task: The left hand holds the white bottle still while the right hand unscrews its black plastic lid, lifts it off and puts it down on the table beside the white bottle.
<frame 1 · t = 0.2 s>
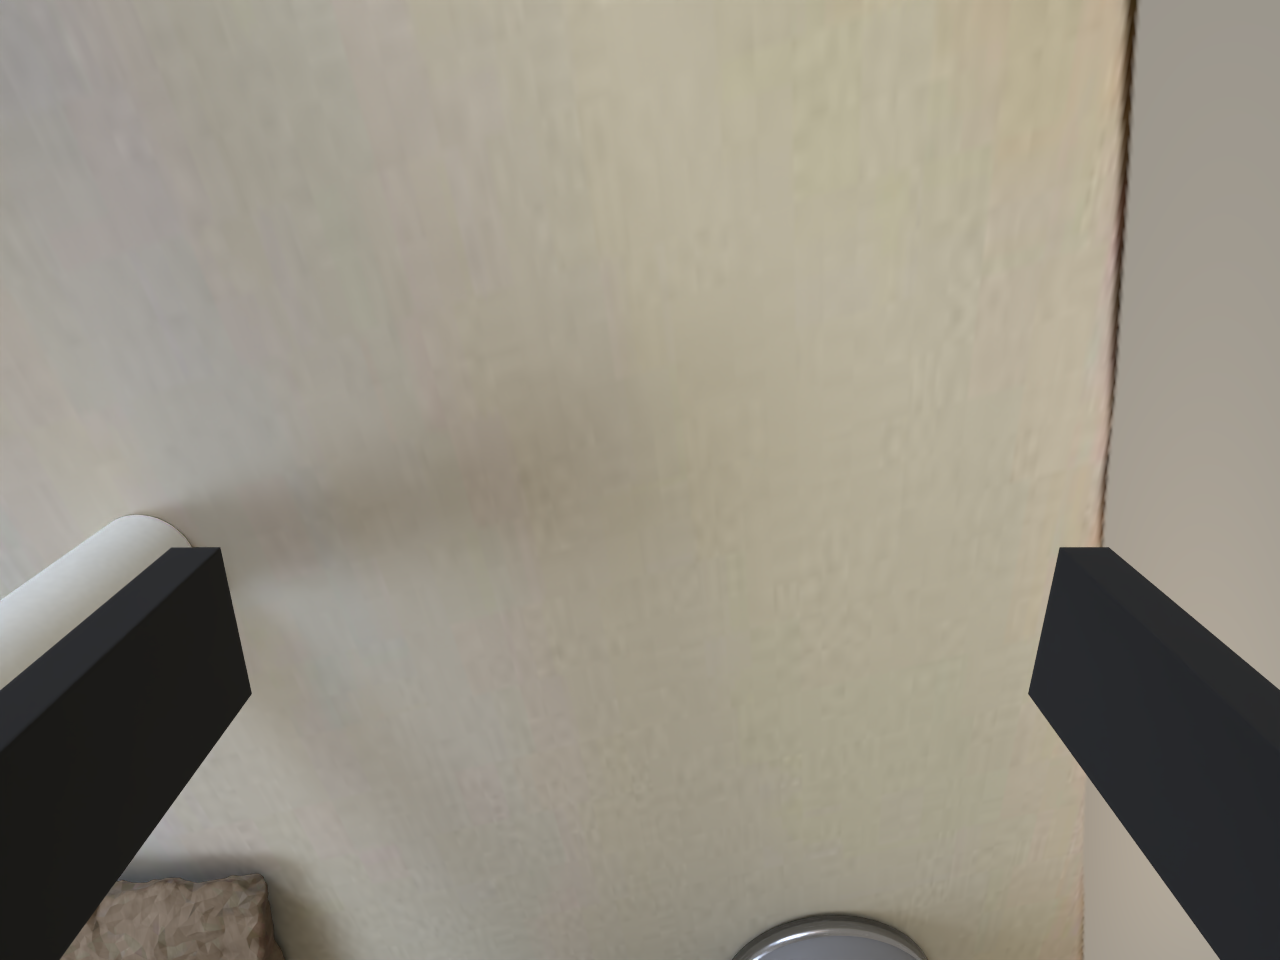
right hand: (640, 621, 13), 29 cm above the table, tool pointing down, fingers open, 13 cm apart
stone: (139, 929, 56), on the table
white bottle: (148, 558, 45), on the table
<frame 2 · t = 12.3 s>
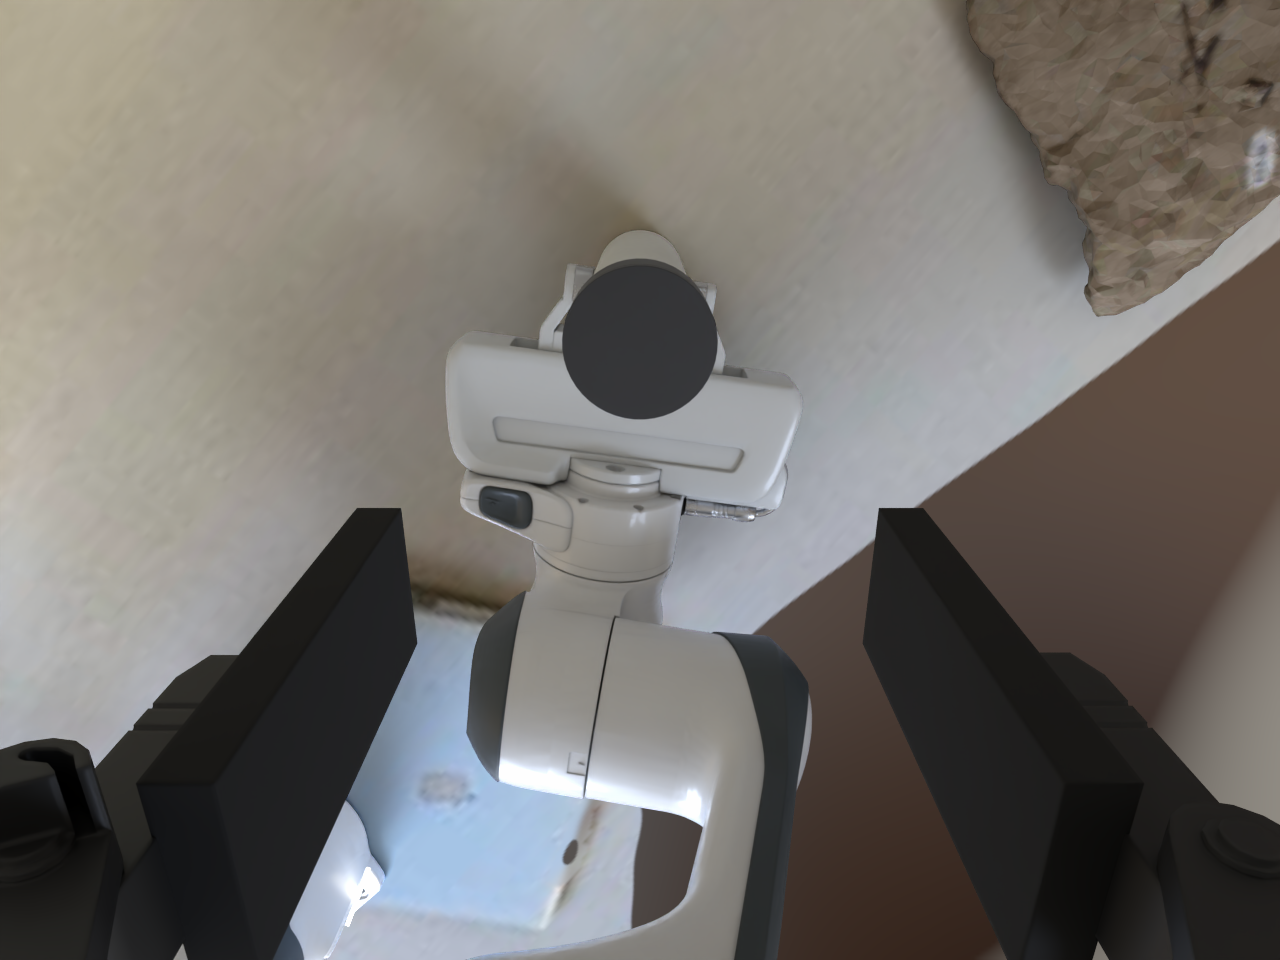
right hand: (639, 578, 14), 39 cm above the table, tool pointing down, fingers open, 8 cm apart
stone: (1122, 94, 47), on the table
lid: (639, 343, 32), point 20 cm above the table, screwed on, not yet turned
white bottle: (640, 274, 51), on the table, touching left hand
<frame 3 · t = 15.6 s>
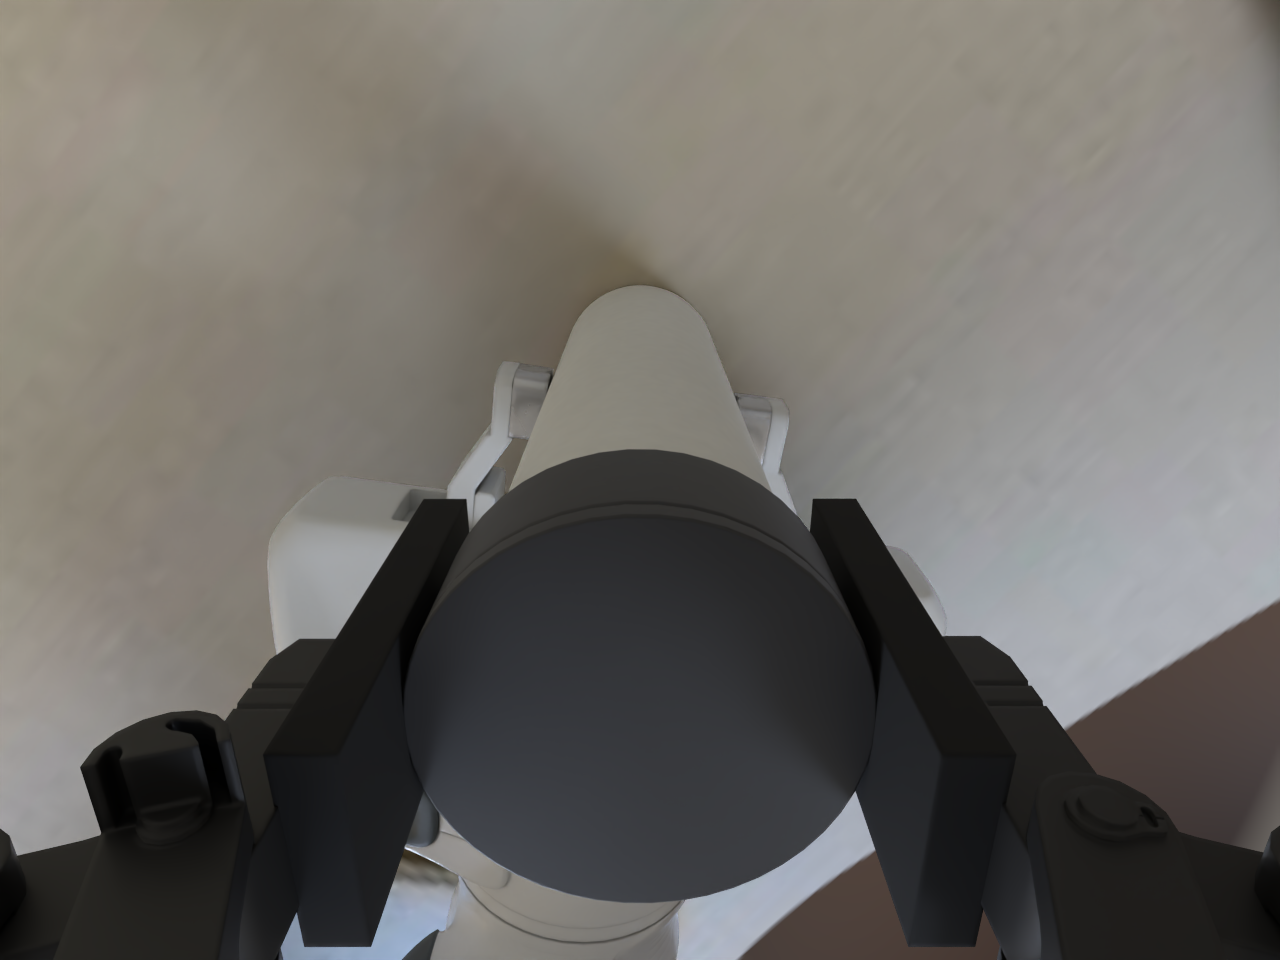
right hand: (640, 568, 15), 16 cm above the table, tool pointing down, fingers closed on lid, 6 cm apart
lid: (639, 713, 11), point 20 cm above the table, screwed on, not yet turned, touching right hand
white bottle: (640, 360, 29), on the table, touching left hand
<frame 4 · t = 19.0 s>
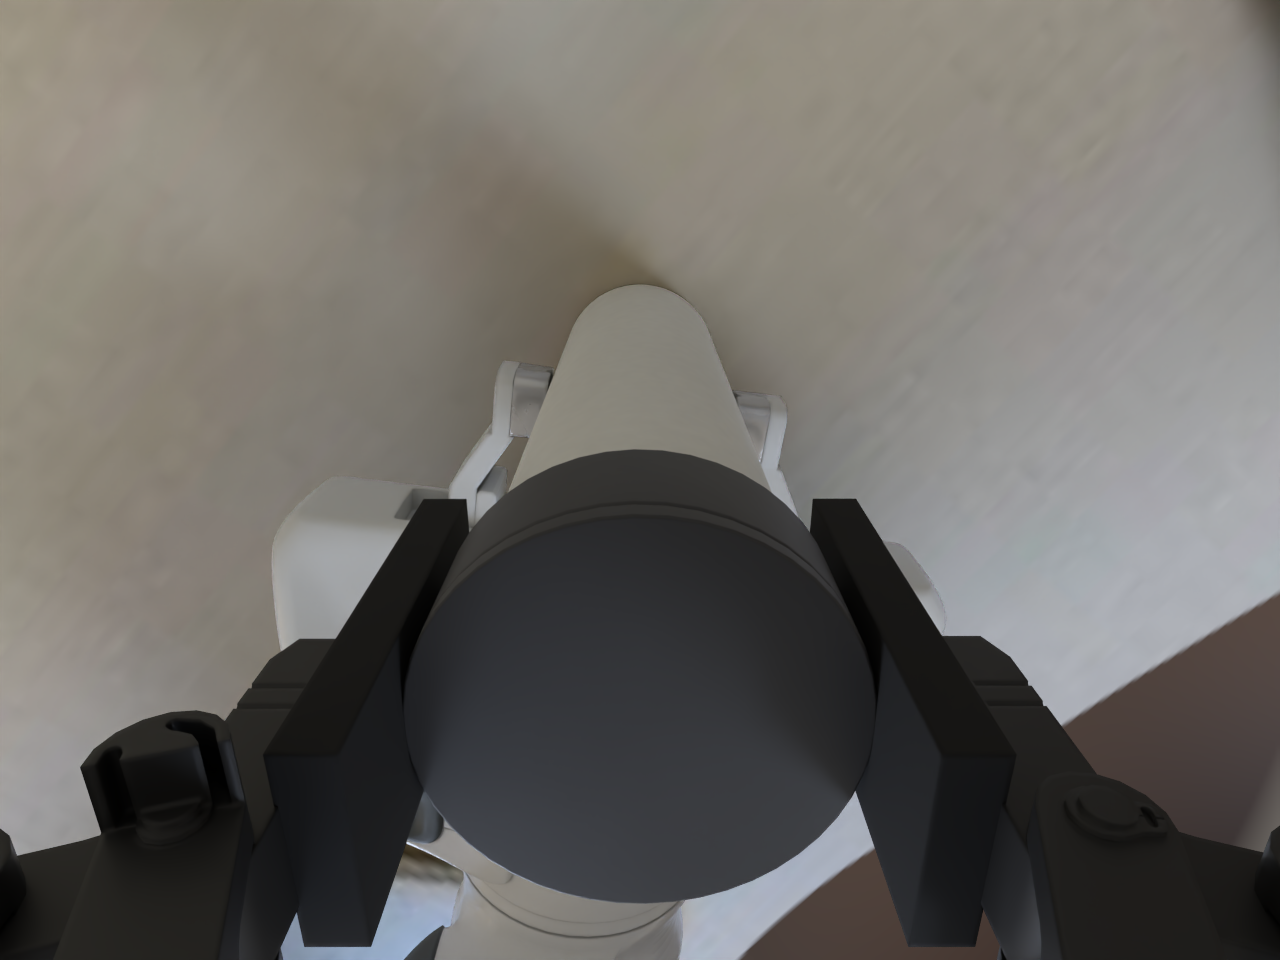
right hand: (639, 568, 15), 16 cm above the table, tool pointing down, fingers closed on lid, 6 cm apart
lid: (639, 714, 11), point 20 cm above the table, turned 118° so far, risen 0.2 cm, still on its thread, touching right hand
white bottle: (639, 358, 30), on the table, touching left hand
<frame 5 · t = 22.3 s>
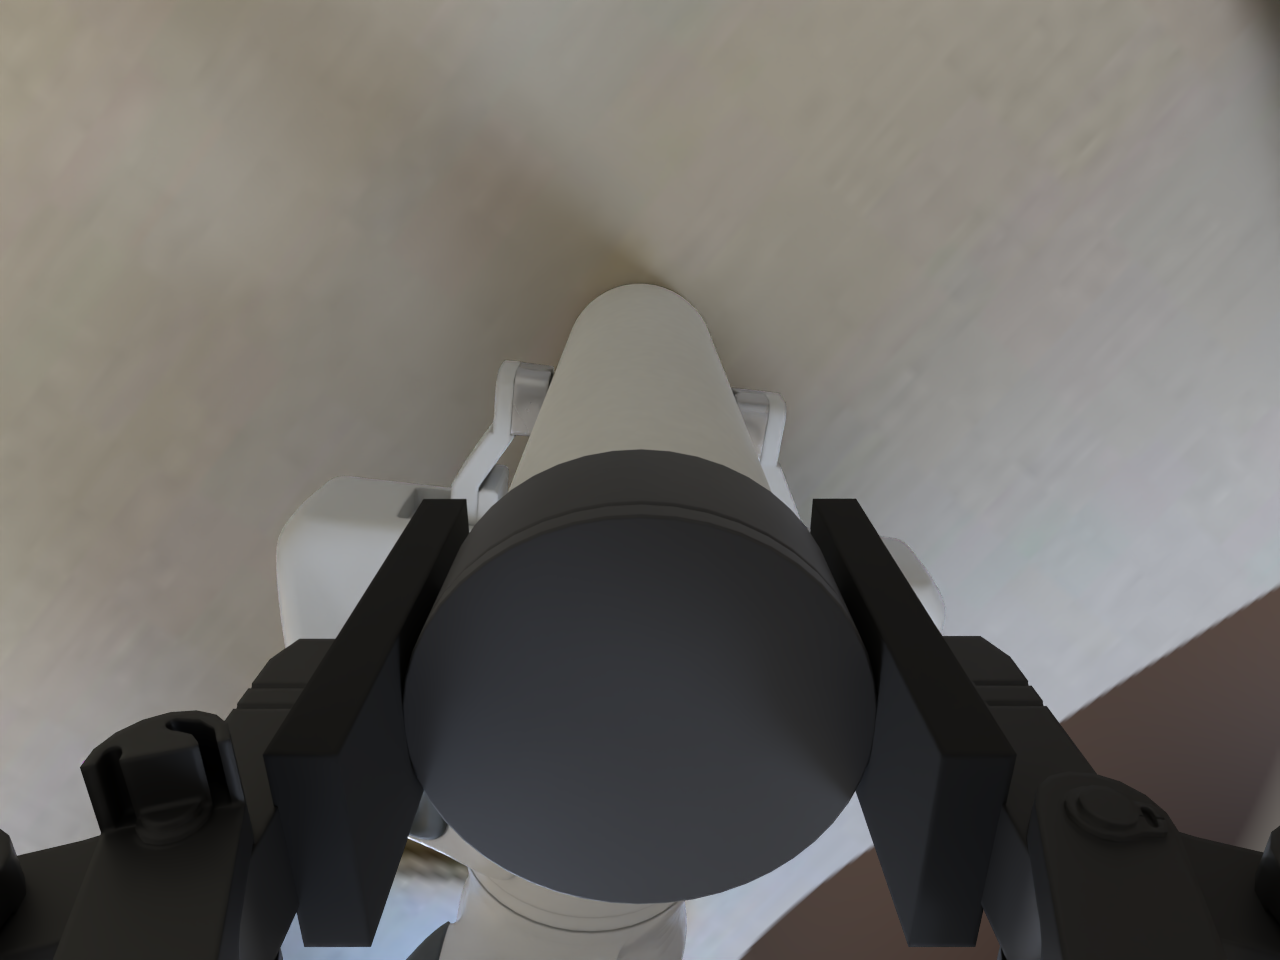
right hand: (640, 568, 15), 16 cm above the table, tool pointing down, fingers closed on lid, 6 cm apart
lid: (639, 714, 11), point 20 cm above the table, turned 235° so far, risen 0.4 cm, still on its thread, touching right hand
white bottle: (639, 357, 30), on the table, touching left hand
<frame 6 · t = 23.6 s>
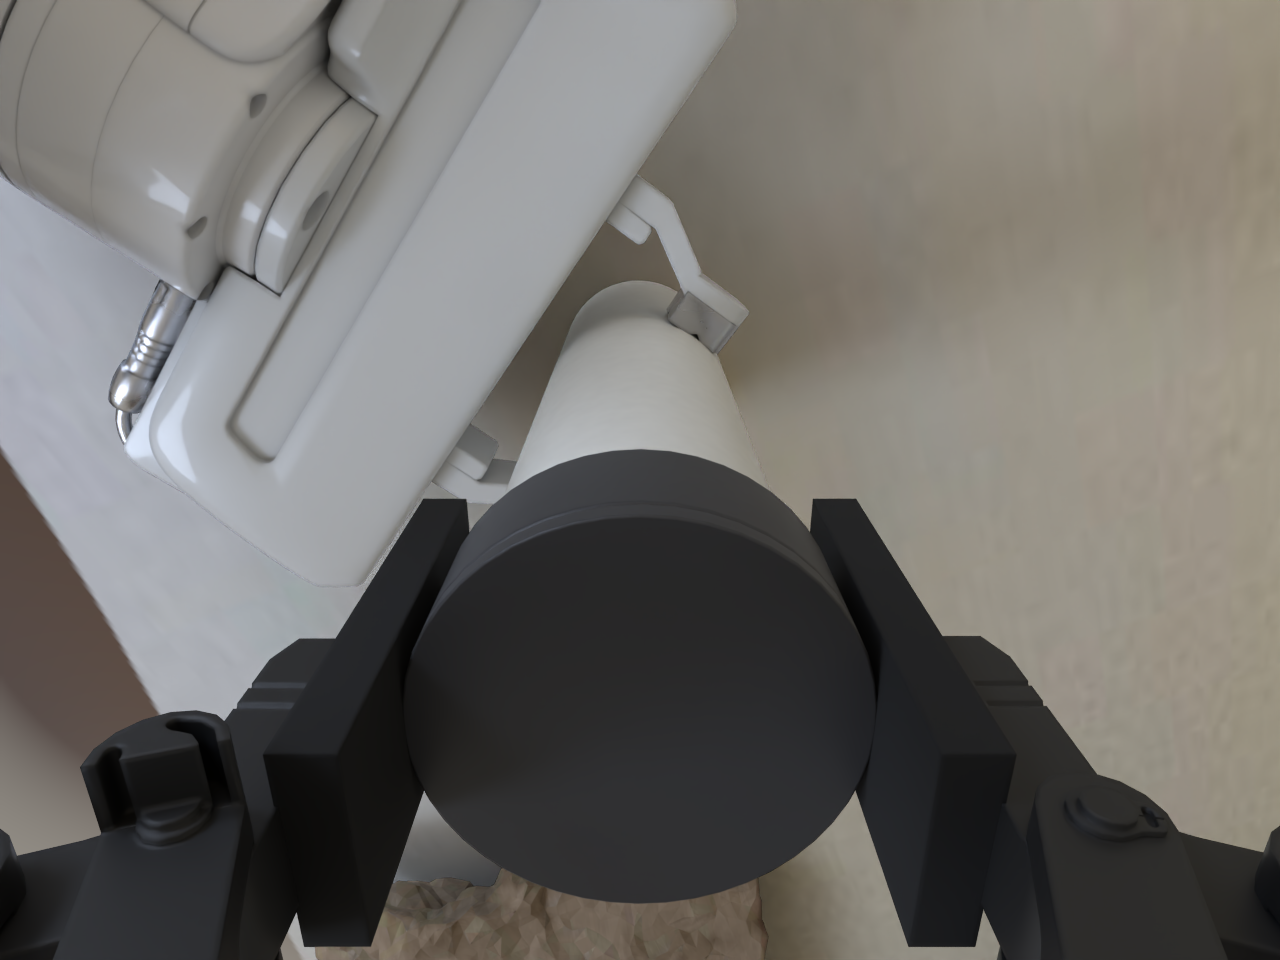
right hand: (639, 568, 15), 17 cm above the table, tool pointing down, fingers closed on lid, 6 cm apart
left hand: (663, 420, 24), fingers closed on white bottle, 5 cm apart
stone: (561, 925, 41), on the table
lid: (639, 714, 11), point 21 cm above the table, off its thread, touching right hand
white bottle: (638, 353, 30), on the table, touching left hand
when the right hand's fingers open (0 cm above the table, at t = 32.0 s): lid drops 2 cm, point 2 cm above the table.
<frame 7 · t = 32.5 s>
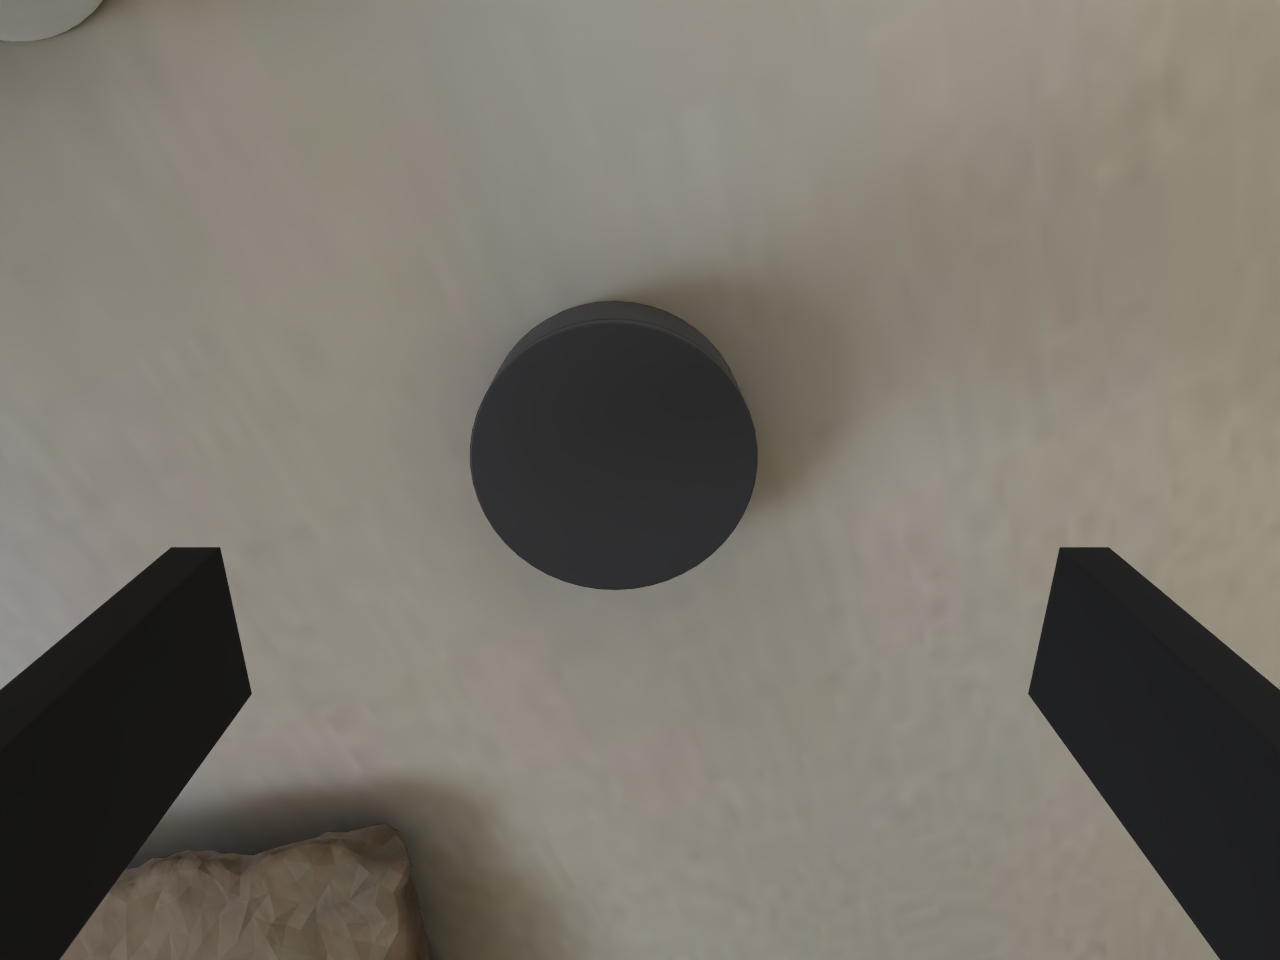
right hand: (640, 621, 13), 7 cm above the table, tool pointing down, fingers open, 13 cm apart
lid: (614, 459, 18), point 2 cm above the table, off its thread
when the left hand's fingers open (7 cm above the table, at t = 32.6 s): white bottle stays where it is, on the table.
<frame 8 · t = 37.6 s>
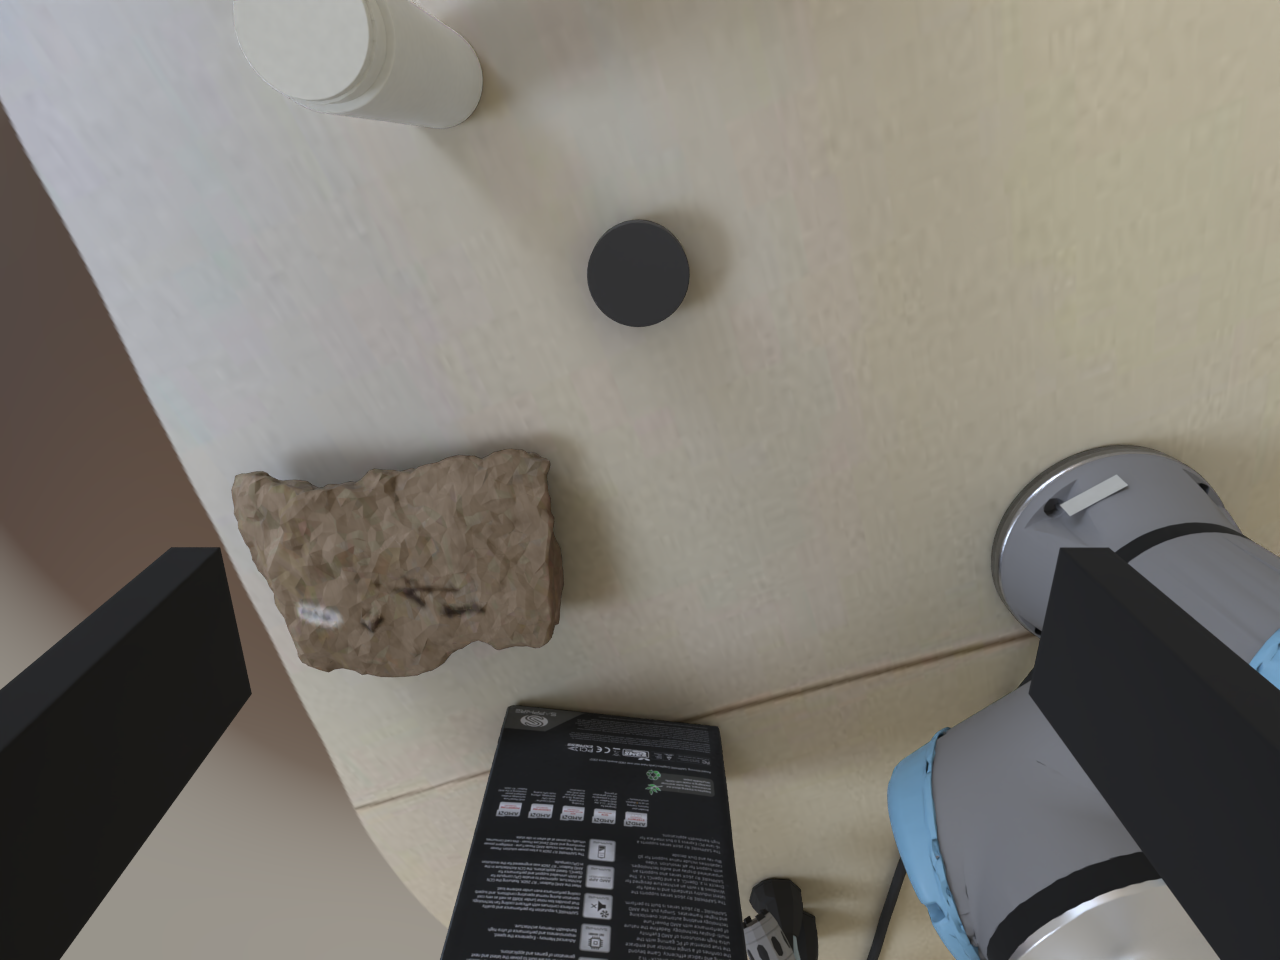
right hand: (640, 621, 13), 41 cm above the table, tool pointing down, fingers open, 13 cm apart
stone: (419, 539, 58), on the table
graphics card box: (607, 739, 64), on the table
robot: (784, 908, 71), on the table
lid: (638, 275, 49), point 2 cm above the table, off its thread
white bottle: (436, 77, 47), on the table
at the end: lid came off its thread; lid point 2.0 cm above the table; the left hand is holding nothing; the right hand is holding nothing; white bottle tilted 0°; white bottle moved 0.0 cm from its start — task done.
